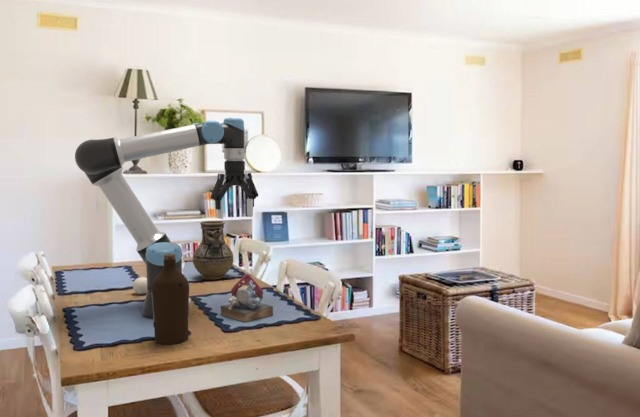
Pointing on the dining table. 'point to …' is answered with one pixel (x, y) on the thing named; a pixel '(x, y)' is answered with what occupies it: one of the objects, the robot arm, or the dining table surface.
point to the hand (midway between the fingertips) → (235, 217)
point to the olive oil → (170, 303)
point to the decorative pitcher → (212, 252)
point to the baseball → (140, 285)
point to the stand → (247, 312)
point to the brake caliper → (246, 294)
